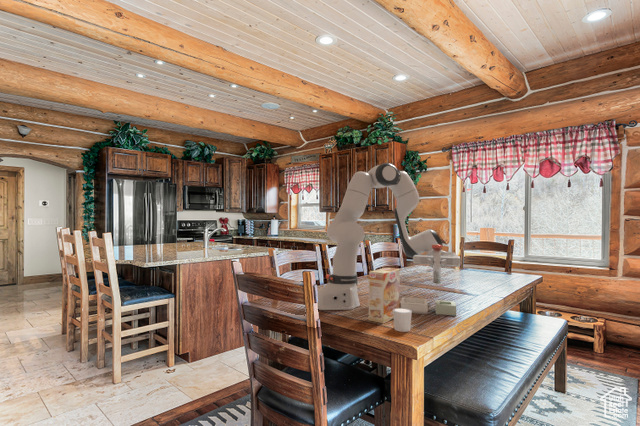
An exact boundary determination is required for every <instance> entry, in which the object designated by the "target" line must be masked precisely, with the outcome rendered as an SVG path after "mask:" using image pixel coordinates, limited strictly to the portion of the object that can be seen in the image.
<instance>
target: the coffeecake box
mask: <svg viewBox="0 0 640 426" xmlns="http://www.w3.org/2000/svg"><path fill="white" fill-rule="evenodd" d="M400 276H401V275H400V268H395V267H382V268H379V269H375V270H371V271H368V321H370V322H374V323H379V324H385V323H387V322H390V321H391V320H394V318H393V309H396V308H400V283H401V282H400V278H401V277H400Z"/></svg>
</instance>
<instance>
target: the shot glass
mask: <svg viewBox="0 0 640 426" xmlns="http://www.w3.org/2000/svg"><path fill="white" fill-rule="evenodd" d="M412 314H413V313H412V311H411V310H409V309H405V308H401V307H399V308H396V309H393V327H394V328H393V329H394V330H395V331H396V332H400V333H407V332H410V331H411V324H412Z"/></svg>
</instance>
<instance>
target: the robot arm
mask: <svg viewBox="0 0 640 426" xmlns="http://www.w3.org/2000/svg"><path fill="white" fill-rule="evenodd" d="M384 188H389V190H390V191H391V192H392V194H393V197H394V198H395V200H396V207H395V208H394V217H395V221H396V226H397V229H398V232H399V233H398V234H399V237H400V240H401V241H400V242H401V248H402V251H403V253H404V254H405V256H406V257H408V258H412V262H413V264H415V265H428V266H429V267H430V268H432V269H433V248H432V245H442V248H443V247H444V246H443V242H442V239H441V238H440V236H439V234H438V233H437V232H436V231H435V230H433V229H431V228H429V229H426V230H423V231H421V232H420V233H417V234H415V235H412V236H409V233H408V230H407V226H406V219H407V217H408V216H409V215H410V214H411V213H412V212H413V210H415V209H416V207H417V206H418V204H419V202H420V195H419V191H418V190H417V186H416V185H415V183H414V181H413V180H412V178H411V177H410V175H409V174H408V173H407V172H406V171H405V170H399V169H398V168H397V167H396V166H395V165H394V164H392V163H389V162H388V163H387V162H384V163H380V164H378V165H375V166H373V167H372V168H370V169H368V170H367V171H357V172H355V173H353V176H352V177H351V179H350V181H349V183H348V185H347V188H346V191H345V194H344V197H343V199H342V202H341V205H340V208H339V209H338V211H337V212H336V214H335V216H334V218H333V220H332V221H331V223H330V224H329V225H328V226H327V228H326V235H327V237H328V238H329V240H330V241H332V242H333V243H335V244H336V250H335V252H334V255H333V257H332V273H331V275H330V274H326V275H325V278H326V279H327V280H328V282H326V284H325V285H323V287H321V288H320V289H318V290H317V292H318V308H319V311H337V310H338V311H339V310H340V311H342V310H343V311H344V310H345V311H347V310H350V311H352V310H354V309H355V308H358V307H360V305H361V304H360V299H359V294H358V284H359V283H358V281H359V279H358V274H357V260H358V258H357V257H358V252H359V249H360V244H361V243H362V242H363V241H364V239H365V229H364V227H363V226H362V225H361V224H359V223H358V221H359V219H360V218H361V216H362V215H364V213H365V210H366V206H367V203H368V200H369V198H370V194H371V191H372V190H378V189H384ZM424 253H426V254H424ZM461 264H462V263H461V257H460V256H459V255H457V253H456V252H453V251H445V250H442V249H441V269H442V268H450V267H451V268H454V267H461Z"/></svg>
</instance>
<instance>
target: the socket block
mask: <svg viewBox="0 0 640 426" xmlns="http://www.w3.org/2000/svg"><path fill="white" fill-rule="evenodd" d="M434 302H435V303H434V304H435V305H434V306H435V308H434V310H435V315H445V316H446V315H447V316H457V303H456V302H455V301H453V300H441V299H440V300H438V299H435V301H434Z"/></svg>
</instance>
